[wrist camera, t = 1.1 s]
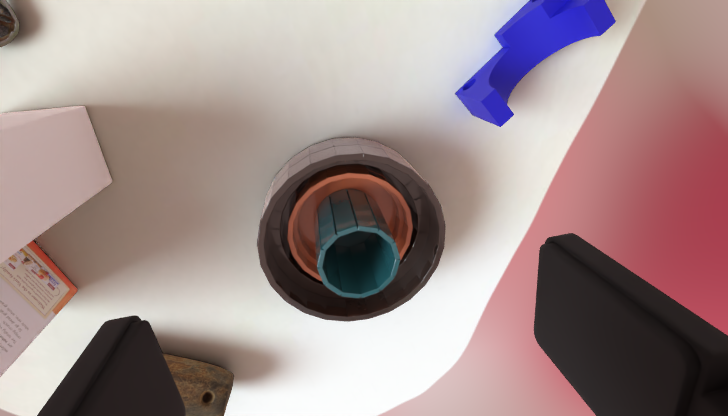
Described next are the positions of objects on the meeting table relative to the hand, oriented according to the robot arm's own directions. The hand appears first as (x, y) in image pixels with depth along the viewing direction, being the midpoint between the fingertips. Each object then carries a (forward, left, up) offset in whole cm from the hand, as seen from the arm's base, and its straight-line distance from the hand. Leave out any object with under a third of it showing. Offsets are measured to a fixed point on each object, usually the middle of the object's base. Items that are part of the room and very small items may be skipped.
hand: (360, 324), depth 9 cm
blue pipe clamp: (-16, +10, -30) cm, 36 cm away
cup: (+6, +9, -29) cm, 31 cm away
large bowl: (+6, +9, -30) cm, 32 cm away
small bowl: (+6, +9, -30) cm, 32 cm away
